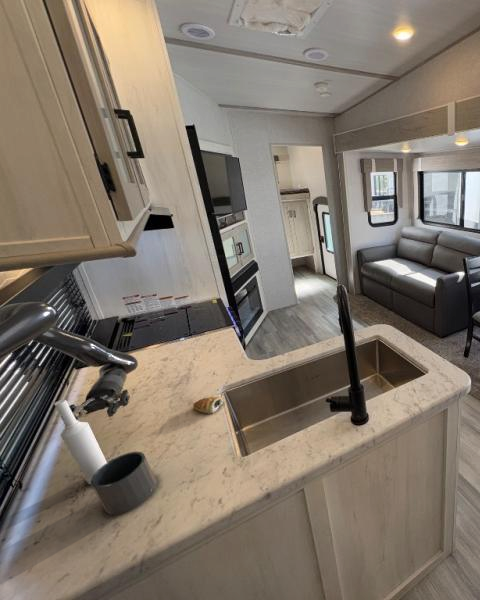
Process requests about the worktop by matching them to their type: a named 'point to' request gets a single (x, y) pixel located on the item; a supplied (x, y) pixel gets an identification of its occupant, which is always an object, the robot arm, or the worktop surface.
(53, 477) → the worktop surface
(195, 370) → the worktop surface
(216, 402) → the pastry
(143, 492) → the bowl
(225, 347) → the worktop surface
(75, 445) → the bottle
